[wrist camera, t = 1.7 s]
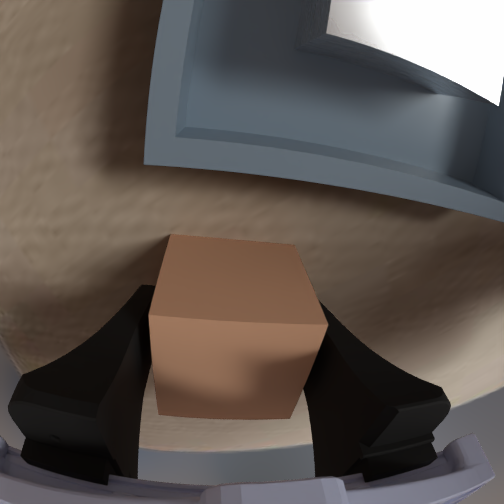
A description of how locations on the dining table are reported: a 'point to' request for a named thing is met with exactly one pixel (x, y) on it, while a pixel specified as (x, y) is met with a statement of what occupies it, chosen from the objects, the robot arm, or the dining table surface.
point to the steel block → (413, 41)
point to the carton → (232, 329)
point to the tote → (311, 112)
